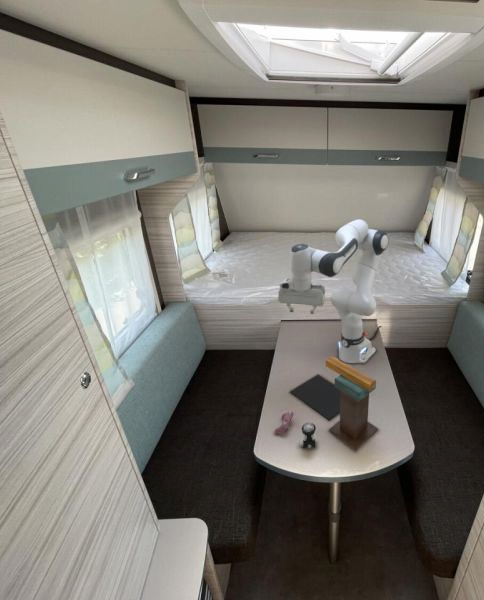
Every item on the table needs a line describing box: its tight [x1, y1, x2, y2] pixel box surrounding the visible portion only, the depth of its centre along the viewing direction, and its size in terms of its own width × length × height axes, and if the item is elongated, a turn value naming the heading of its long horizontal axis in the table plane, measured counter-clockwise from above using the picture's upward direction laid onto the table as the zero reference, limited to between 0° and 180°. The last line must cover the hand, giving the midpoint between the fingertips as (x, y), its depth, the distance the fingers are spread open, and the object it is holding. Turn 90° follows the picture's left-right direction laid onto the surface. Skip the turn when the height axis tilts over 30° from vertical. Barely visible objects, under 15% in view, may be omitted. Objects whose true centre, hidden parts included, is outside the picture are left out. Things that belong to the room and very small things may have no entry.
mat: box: [290, 374, 340, 421], centre depth 153 cm, size 18×26×1 cm
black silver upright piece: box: [298, 422, 317, 449], centre depth 125 cm, size 7×5×10 cm
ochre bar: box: [325, 356, 376, 391], centre depth 124 cm, size 4×22×3 cm, turn 47°
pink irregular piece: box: [274, 410, 295, 435], centre depth 134 cm, size 10×5×7 cm, turn 168°
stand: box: [329, 366, 378, 452], centre depth 128 cm, size 14×14×26 cm
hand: (302, 312), depth 143 cm, fingers open, 8 cm apart
